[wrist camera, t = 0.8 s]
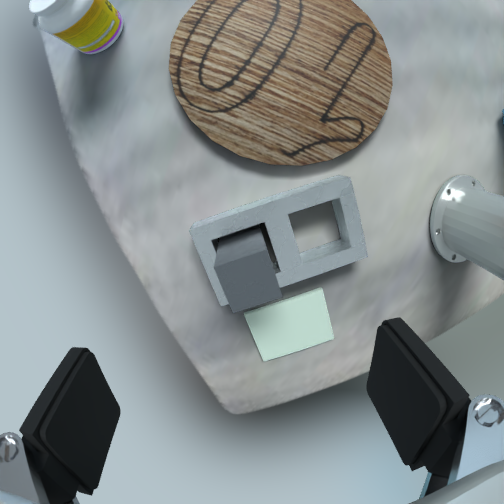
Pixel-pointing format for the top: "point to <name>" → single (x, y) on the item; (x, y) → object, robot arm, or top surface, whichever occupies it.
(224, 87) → the trivet
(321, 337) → the sage pad
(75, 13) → the supplement bottle
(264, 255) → the zinc peg
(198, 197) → the top surface
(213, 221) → the grey cinder block
